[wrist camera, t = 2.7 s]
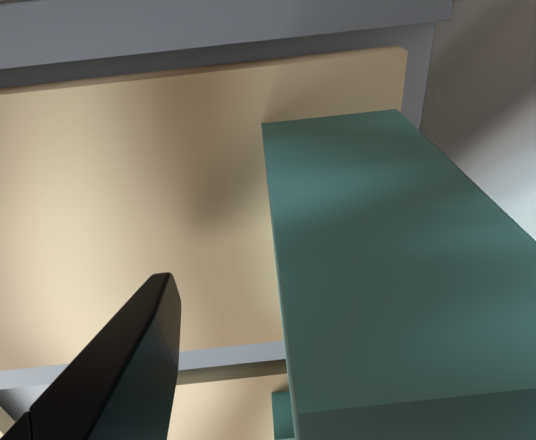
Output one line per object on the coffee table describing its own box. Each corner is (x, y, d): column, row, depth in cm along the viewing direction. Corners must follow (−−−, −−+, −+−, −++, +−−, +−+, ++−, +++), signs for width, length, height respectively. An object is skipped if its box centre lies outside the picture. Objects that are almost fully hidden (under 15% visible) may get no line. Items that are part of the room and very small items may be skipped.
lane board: (441, -44, 7) (501, -45, 6) (368, 454, 19) (380, 500, 18) (-854, 96, 7) (-1176, 136, 6) (-115, 505, 19) (-148, 556, 18)
